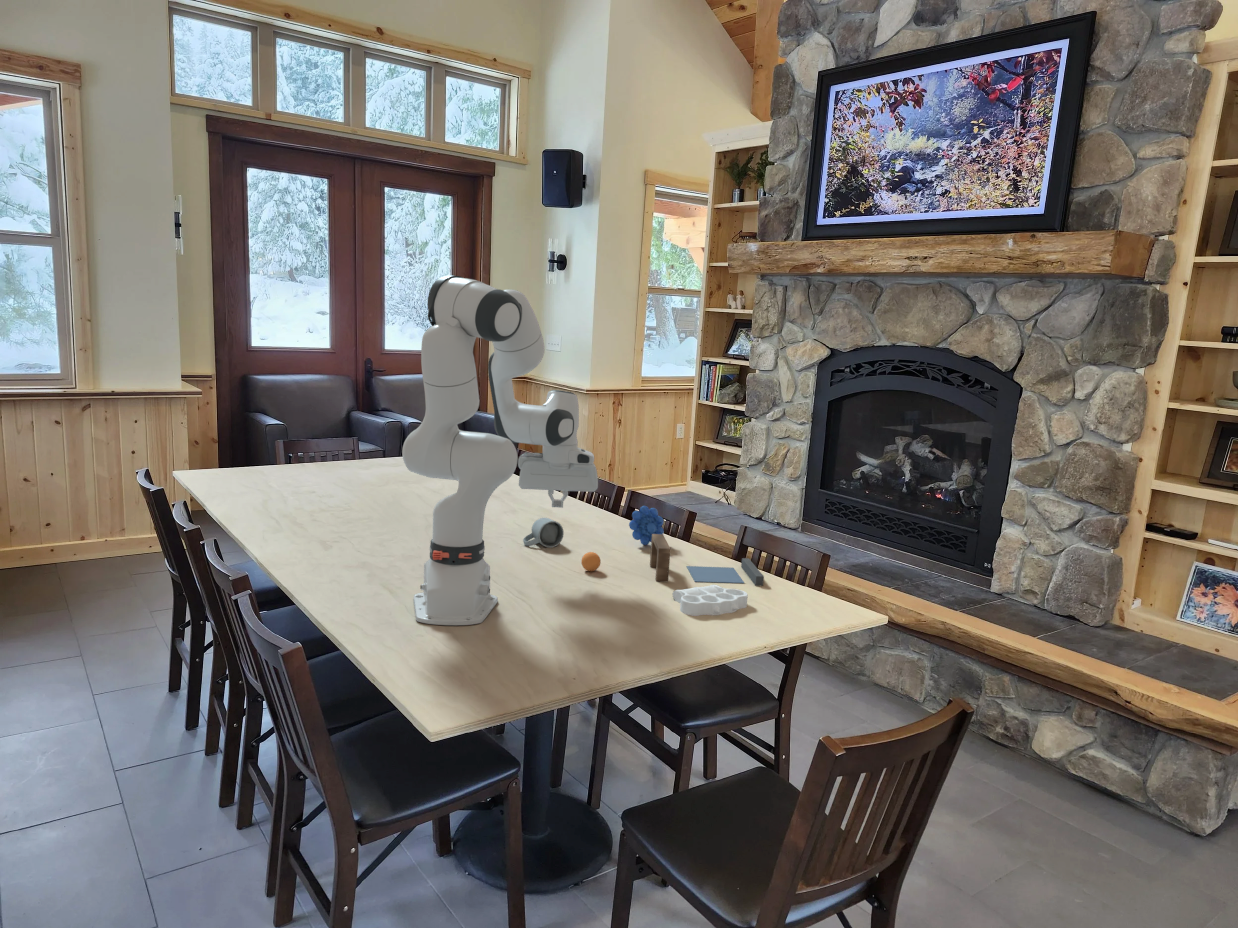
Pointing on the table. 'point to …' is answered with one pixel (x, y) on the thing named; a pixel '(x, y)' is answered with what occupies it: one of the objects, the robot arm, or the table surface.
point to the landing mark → (714, 574)
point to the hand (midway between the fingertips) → (557, 506)
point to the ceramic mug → (545, 533)
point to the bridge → (660, 557)
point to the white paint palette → (710, 600)
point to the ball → (591, 561)
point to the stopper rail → (752, 572)
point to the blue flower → (646, 524)
